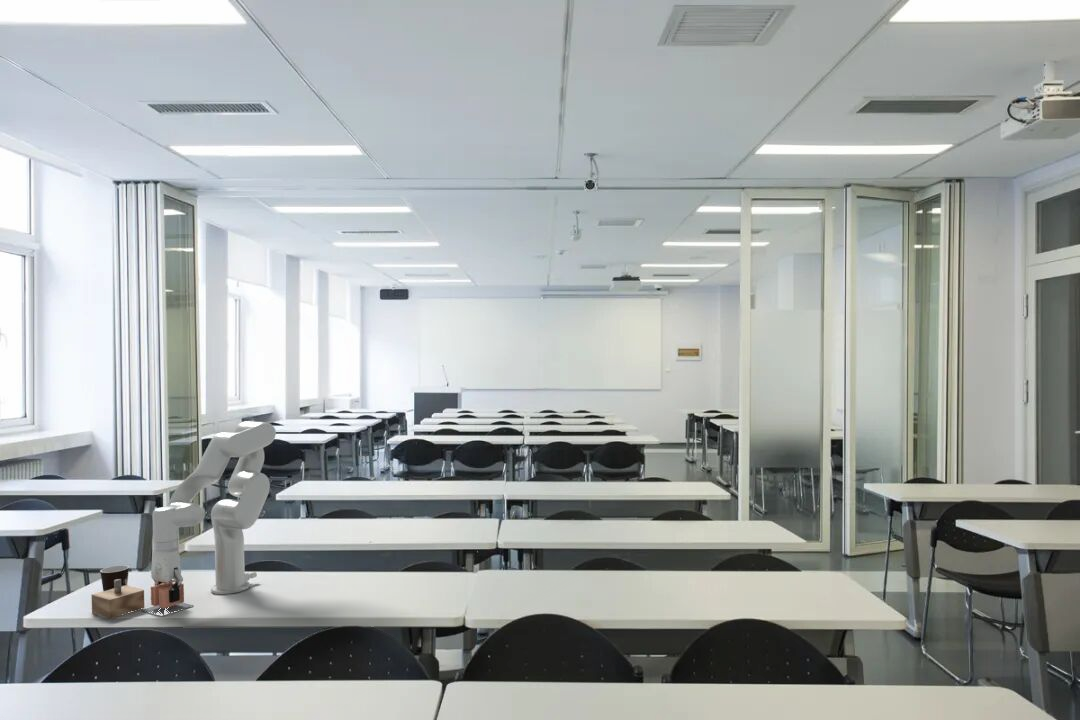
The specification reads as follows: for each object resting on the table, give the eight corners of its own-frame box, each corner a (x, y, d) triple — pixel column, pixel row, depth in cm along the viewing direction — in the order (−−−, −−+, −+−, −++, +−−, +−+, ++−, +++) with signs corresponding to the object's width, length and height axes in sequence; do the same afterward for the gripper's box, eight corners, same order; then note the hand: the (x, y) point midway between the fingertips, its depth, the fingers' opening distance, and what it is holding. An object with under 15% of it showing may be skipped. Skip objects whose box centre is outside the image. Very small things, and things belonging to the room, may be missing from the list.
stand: (126, 603, 247) (125, 573, 247) (144, 608, 241) (143, 577, 241) (91, 613, 238) (91, 582, 238) (109, 618, 232) (109, 587, 232)
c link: (171, 598, 245) (171, 580, 245) (184, 602, 241) (183, 583, 241) (151, 605, 239) (150, 586, 239) (163, 608, 235) (162, 589, 235)
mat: (174, 601, 248) (174, 600, 248) (193, 606, 242) (193, 605, 242) (141, 611, 239) (141, 609, 239) (160, 616, 233) (160, 615, 233)
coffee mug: (116, 602, 248) (115, 573, 248) (94, 601, 250) (94, 572, 250) (141, 591, 259) (141, 563, 259) (120, 590, 261) (120, 562, 261)
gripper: (140, 544, 242) (141, 598, 242) (170, 551, 232) (172, 607, 233) (162, 539, 248) (163, 592, 248) (192, 545, 239) (194, 600, 239)
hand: (167, 599), depth 240 cm, fingers closed on c link, 7 cm apart
